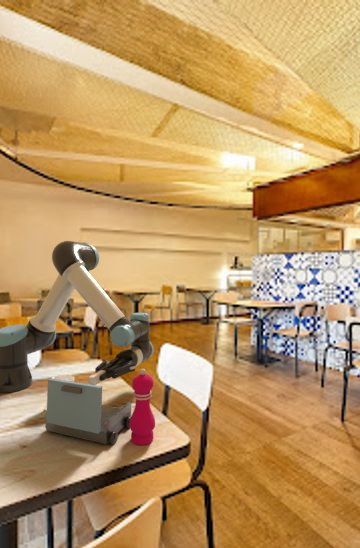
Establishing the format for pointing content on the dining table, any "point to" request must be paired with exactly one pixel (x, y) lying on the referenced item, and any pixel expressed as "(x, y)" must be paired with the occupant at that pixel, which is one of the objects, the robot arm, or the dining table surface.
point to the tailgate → (74, 405)
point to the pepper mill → (142, 410)
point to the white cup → (64, 377)
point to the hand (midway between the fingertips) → (91, 381)
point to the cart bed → (110, 425)
